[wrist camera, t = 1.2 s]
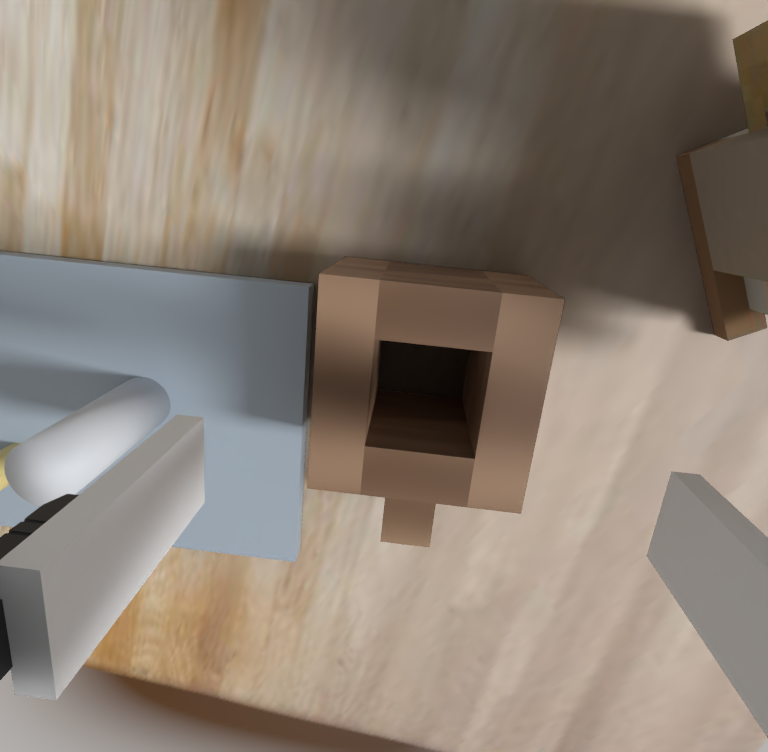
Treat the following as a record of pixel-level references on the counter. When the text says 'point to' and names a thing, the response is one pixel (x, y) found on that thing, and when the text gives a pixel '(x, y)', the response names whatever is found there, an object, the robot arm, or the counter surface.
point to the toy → (734, 202)
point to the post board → (188, 356)
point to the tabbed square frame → (429, 412)
